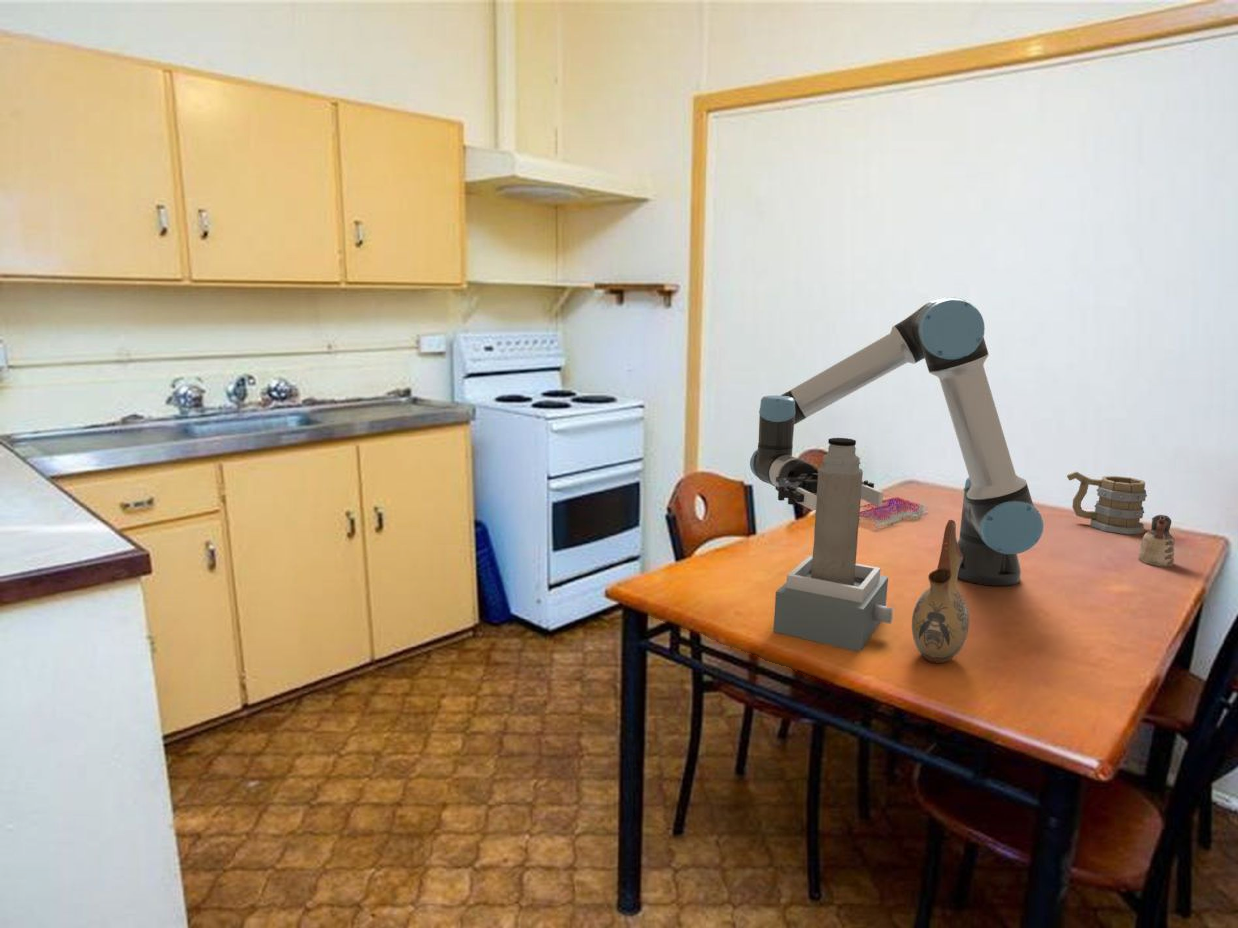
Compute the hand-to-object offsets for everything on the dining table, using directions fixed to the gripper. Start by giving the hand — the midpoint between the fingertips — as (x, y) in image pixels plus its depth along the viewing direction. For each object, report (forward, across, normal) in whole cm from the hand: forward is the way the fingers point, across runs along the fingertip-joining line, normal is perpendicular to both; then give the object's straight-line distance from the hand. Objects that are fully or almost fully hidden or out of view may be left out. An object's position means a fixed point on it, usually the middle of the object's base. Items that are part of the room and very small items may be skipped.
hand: (848, 501), depth 143 cm
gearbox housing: (-2, -1, -25) cm, 25 cm away
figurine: (-20, -98, -25) cm, 103 cm away
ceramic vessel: (+15, -10, -25) cm, 31 cm away
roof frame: (-70, -56, -26) cm, 93 cm away
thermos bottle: (-3, 0, -17) cm, 17 cm away
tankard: (-49, -112, -25) cm, 125 cm away
